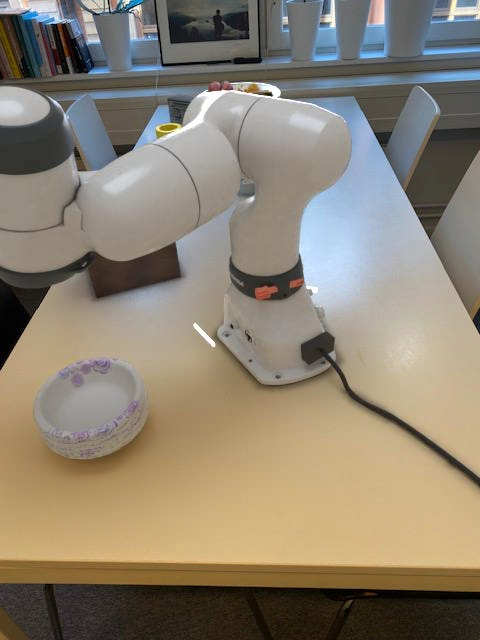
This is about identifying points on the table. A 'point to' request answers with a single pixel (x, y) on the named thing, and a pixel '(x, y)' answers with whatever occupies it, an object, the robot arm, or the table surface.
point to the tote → (133, 271)
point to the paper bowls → (91, 408)
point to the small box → (178, 107)
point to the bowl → (245, 88)
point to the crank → (166, 129)
